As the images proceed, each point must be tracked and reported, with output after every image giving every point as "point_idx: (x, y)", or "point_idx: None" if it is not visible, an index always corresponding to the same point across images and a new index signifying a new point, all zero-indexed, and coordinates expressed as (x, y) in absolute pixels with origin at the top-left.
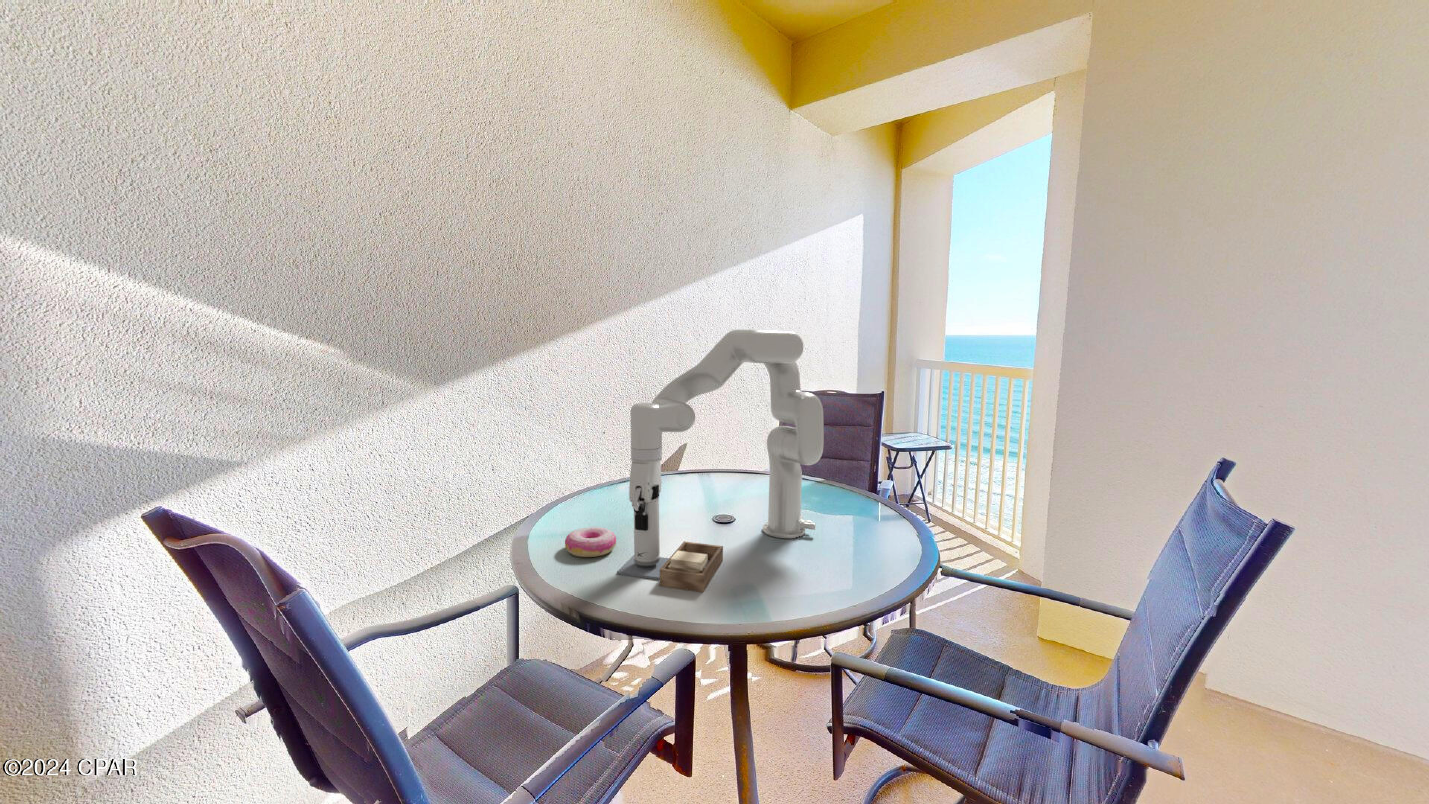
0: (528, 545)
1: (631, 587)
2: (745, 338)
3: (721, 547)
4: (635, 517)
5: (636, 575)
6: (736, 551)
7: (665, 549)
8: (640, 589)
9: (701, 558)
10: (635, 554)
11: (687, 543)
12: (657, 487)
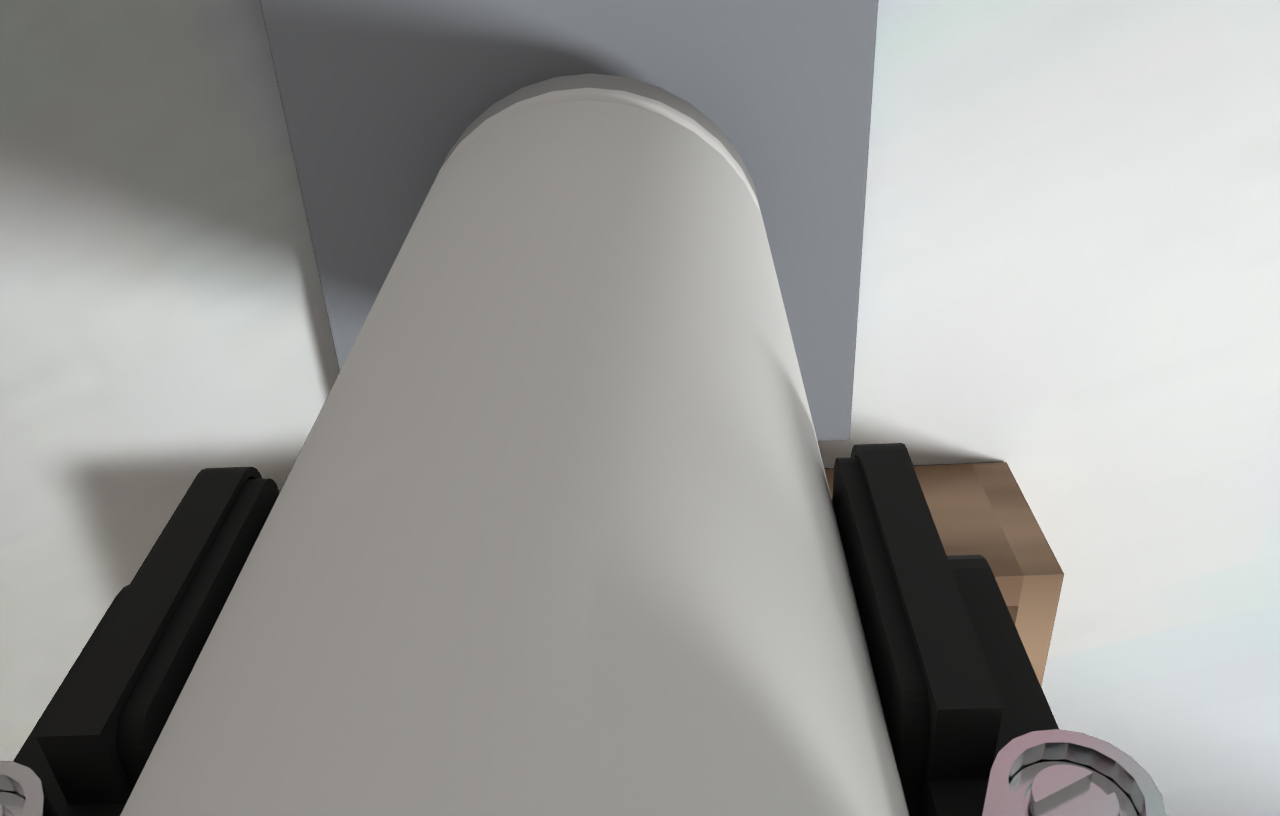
0: None
1: (72, 260)
2: None
3: None
4: (97, 662)
5: (310, 207)
6: (1193, 809)
7: (1177, 204)
8: (92, 360)
9: None
10: (438, 179)
11: (1016, 617)
12: None
